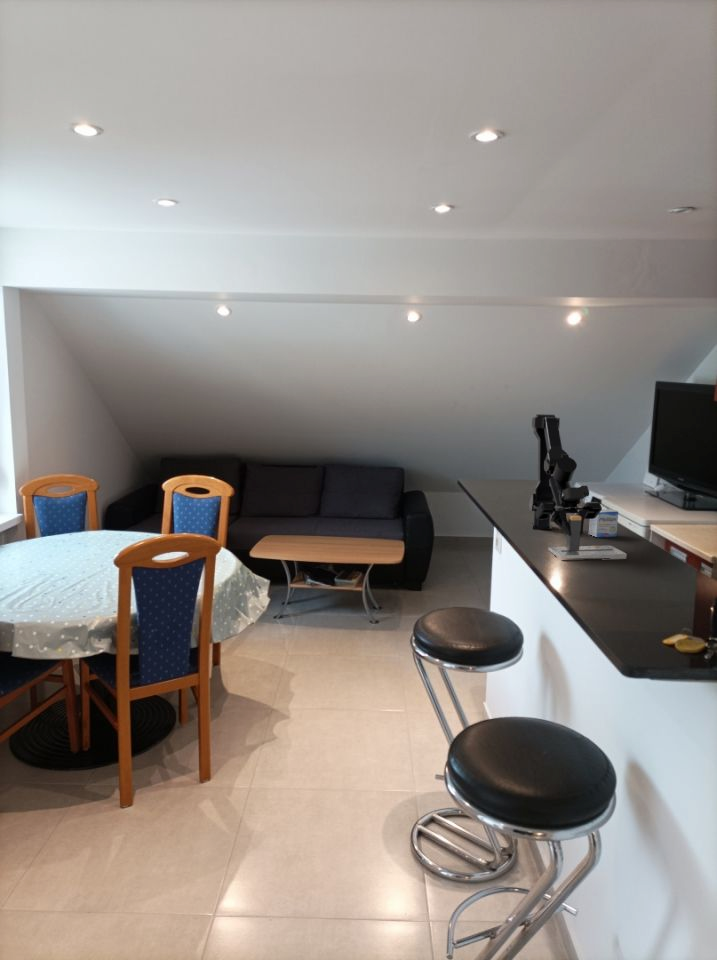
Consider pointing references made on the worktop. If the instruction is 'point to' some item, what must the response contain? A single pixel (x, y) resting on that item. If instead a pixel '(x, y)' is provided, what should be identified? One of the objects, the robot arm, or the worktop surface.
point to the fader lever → (574, 532)
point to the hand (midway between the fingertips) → (575, 535)
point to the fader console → (589, 552)
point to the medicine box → (604, 524)
